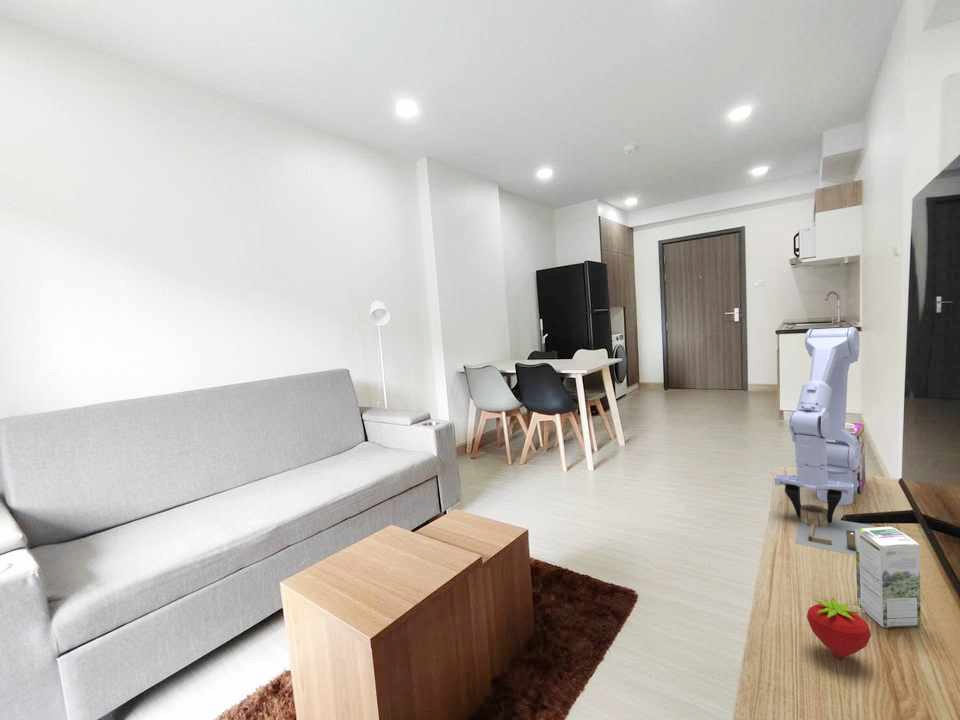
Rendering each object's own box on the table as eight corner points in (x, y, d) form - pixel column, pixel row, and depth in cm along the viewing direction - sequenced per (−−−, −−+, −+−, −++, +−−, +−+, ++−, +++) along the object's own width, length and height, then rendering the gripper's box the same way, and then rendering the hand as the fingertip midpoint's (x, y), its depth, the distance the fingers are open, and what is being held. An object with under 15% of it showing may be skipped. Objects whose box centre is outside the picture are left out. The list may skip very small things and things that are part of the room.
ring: (802, 514, 107) (801, 502, 106) (829, 519, 103) (828, 506, 103) (799, 524, 103) (799, 511, 103) (827, 528, 100) (827, 516, 99)
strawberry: (871, 682, 63) (868, 616, 62) (805, 658, 68) (802, 597, 67) (873, 655, 67) (870, 593, 66) (811, 635, 72) (808, 577, 71)
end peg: (847, 545, 93) (846, 529, 92) (858, 547, 92) (857, 531, 91) (846, 549, 91) (846, 533, 91) (858, 551, 90) (857, 535, 90)
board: (803, 517, 107) (802, 505, 107) (875, 529, 99) (874, 516, 98) (795, 546, 96) (794, 533, 96) (875, 562, 87) (875, 548, 87)
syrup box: (892, 603, 76) (889, 524, 75) (923, 628, 71) (920, 542, 69) (856, 605, 77) (853, 526, 76) (884, 630, 71) (880, 544, 70)
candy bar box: (861, 496, 113) (859, 434, 112) (836, 492, 117) (833, 432, 115) (867, 481, 121) (864, 422, 119) (843, 478, 124) (840, 421, 123)
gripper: (770, 463, 104) (774, 519, 105) (851, 472, 94) (854, 533, 95) (775, 454, 109) (779, 507, 110) (852, 461, 99) (855, 519, 101)
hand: (814, 518), depth 103 cm, fingers closed on ring, 5 cm apart
